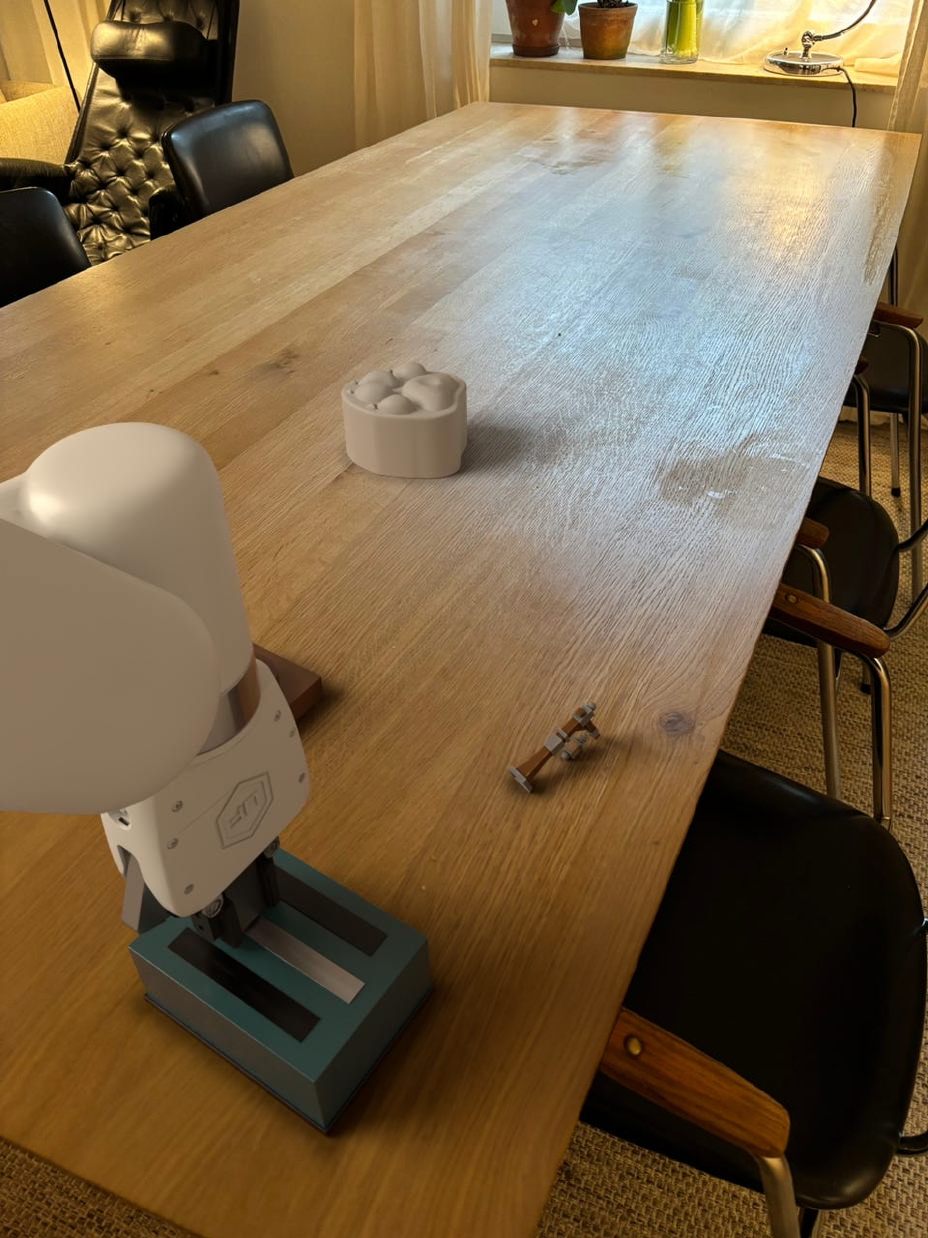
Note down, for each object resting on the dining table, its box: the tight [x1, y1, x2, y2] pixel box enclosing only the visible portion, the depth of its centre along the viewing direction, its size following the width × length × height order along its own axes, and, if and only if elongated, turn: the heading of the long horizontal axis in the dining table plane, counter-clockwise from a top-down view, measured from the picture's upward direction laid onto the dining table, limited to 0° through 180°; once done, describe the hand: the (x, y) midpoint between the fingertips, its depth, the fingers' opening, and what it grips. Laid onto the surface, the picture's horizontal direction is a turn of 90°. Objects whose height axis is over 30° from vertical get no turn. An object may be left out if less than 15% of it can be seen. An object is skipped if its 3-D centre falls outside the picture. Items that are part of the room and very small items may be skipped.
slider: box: [222, 859, 266, 932], centre depth 56 cm, size 2×2×5 cm
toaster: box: [127, 846, 437, 1138], centre depth 59 cm, size 10×14×6 cm
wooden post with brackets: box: [506, 701, 601, 793], centre depth 74 cm, size 2×8×4 cm, turn 127°
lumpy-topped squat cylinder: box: [340, 361, 468, 480], centre depth 106 cm, size 10×13×9 cm
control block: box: [252, 641, 325, 723], centre depth 77 cm, size 10×8×4 cm
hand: (239, 911), depth 57 cm, fingers closed on slider, 2 cm apart
